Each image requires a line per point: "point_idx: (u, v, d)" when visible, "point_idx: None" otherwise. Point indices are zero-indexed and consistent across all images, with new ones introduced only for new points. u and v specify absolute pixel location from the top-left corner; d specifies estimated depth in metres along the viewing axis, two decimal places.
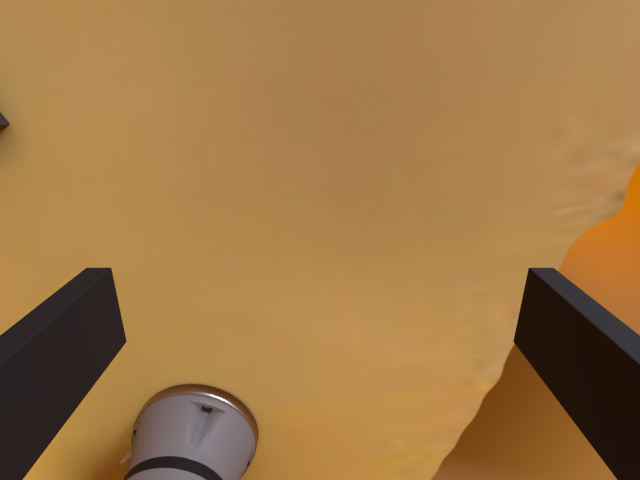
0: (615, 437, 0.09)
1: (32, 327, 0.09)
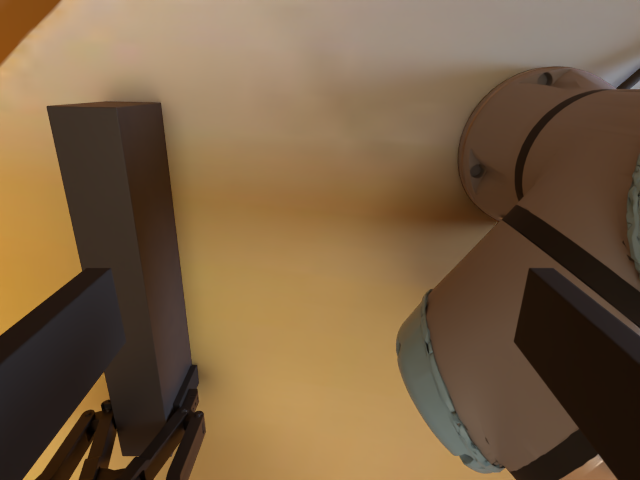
0: (615, 437, 0.09)
1: (32, 327, 0.09)
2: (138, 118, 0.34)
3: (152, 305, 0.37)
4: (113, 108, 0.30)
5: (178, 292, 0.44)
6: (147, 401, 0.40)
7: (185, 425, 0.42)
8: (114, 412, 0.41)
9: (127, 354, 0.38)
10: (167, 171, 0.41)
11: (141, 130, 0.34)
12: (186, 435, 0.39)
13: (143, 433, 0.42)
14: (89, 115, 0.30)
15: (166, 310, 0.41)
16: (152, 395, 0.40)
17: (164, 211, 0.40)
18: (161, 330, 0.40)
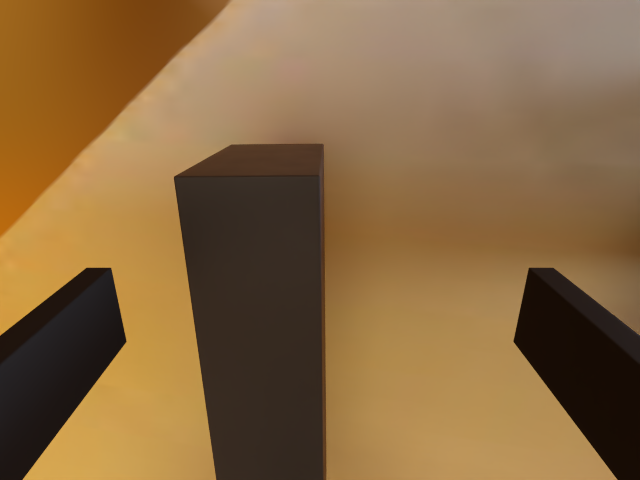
0: (616, 437, 0.09)
1: (32, 327, 0.09)
2: None
3: None
4: (313, 177, 0.14)
5: None
6: None
7: None
8: None
9: None
10: None
11: (322, 204, 0.18)
12: None
13: None
14: (261, 192, 0.15)
15: None
16: None
17: (324, 322, 0.24)
18: None
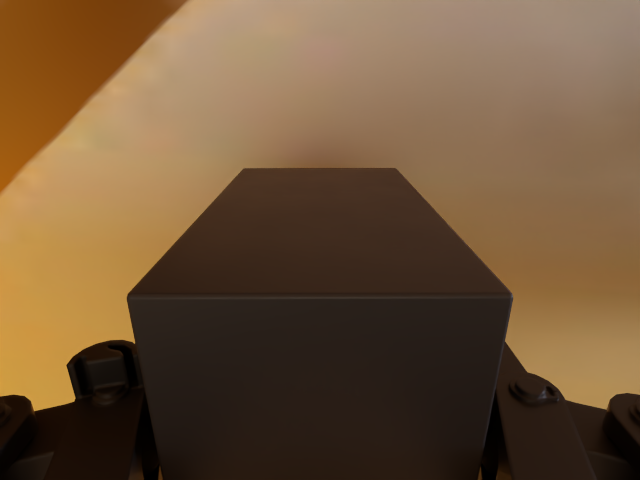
0: None
1: None
2: None
3: None
4: (496, 299, 0.05)
5: None
6: None
7: None
8: None
9: None
10: None
11: None
12: None
13: None
14: (355, 333, 0.06)
15: None
16: None
17: None
18: None
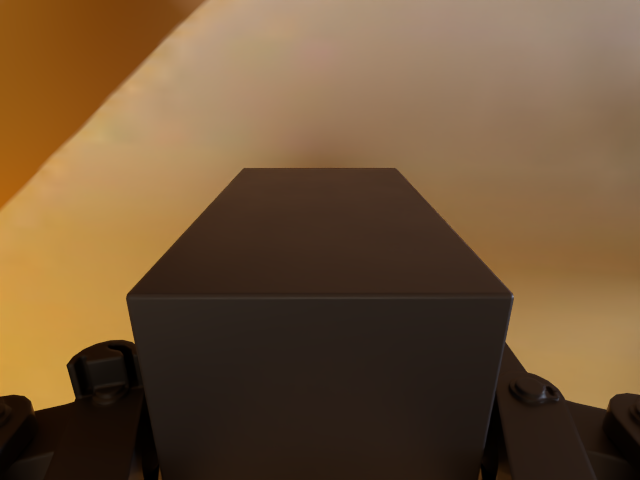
0: None
1: None
2: None
3: None
4: (497, 300, 0.05)
5: None
6: None
7: None
8: None
9: None
10: None
11: None
12: None
13: None
14: (355, 334, 0.06)
15: None
16: None
17: None
18: None
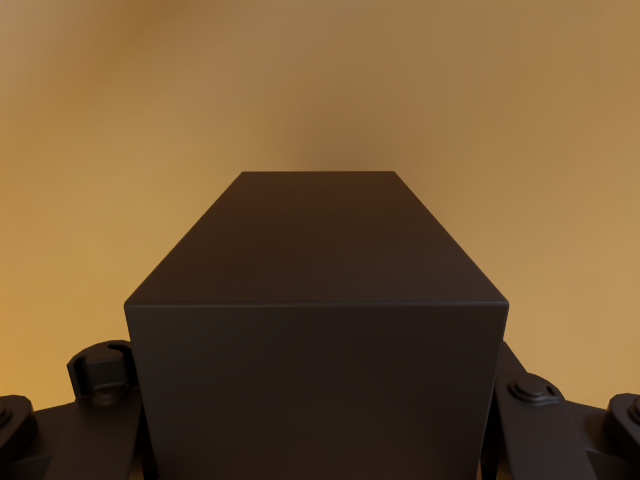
0: None
1: None
2: None
3: None
4: (492, 308, 0.05)
5: None
6: None
7: None
8: None
9: None
10: None
11: None
12: None
13: None
14: (352, 342, 0.06)
15: None
16: None
17: None
18: None
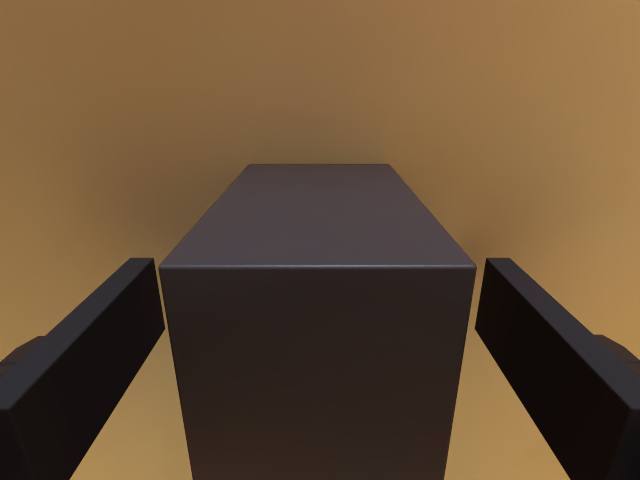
0: (550, 410, 0.09)
1: (92, 310, 0.10)
2: None
3: None
4: (462, 270, 0.07)
5: None
6: None
7: None
8: None
9: None
10: None
11: None
12: None
13: None
14: (347, 299, 0.07)
15: None
16: None
17: None
18: None
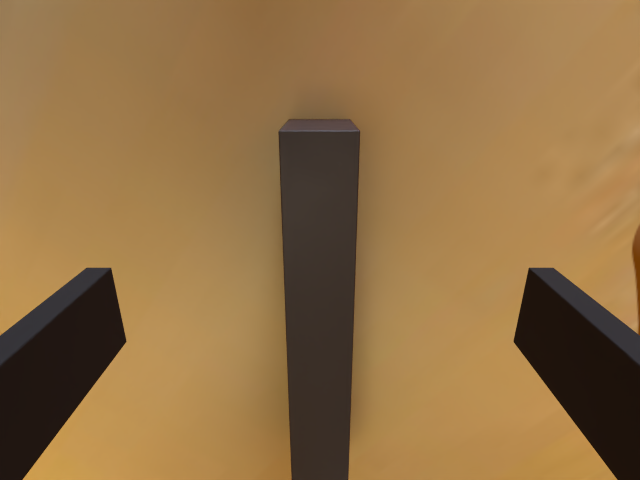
0: (616, 437, 0.09)
1: (32, 327, 0.09)
2: None
3: None
4: (356, 131, 0.26)
5: None
6: (332, 451, 0.36)
7: None
8: (293, 464, 0.37)
9: (319, 403, 0.34)
10: None
11: None
12: None
13: None
14: (327, 140, 0.26)
15: None
16: (339, 445, 0.36)
17: None
18: None
